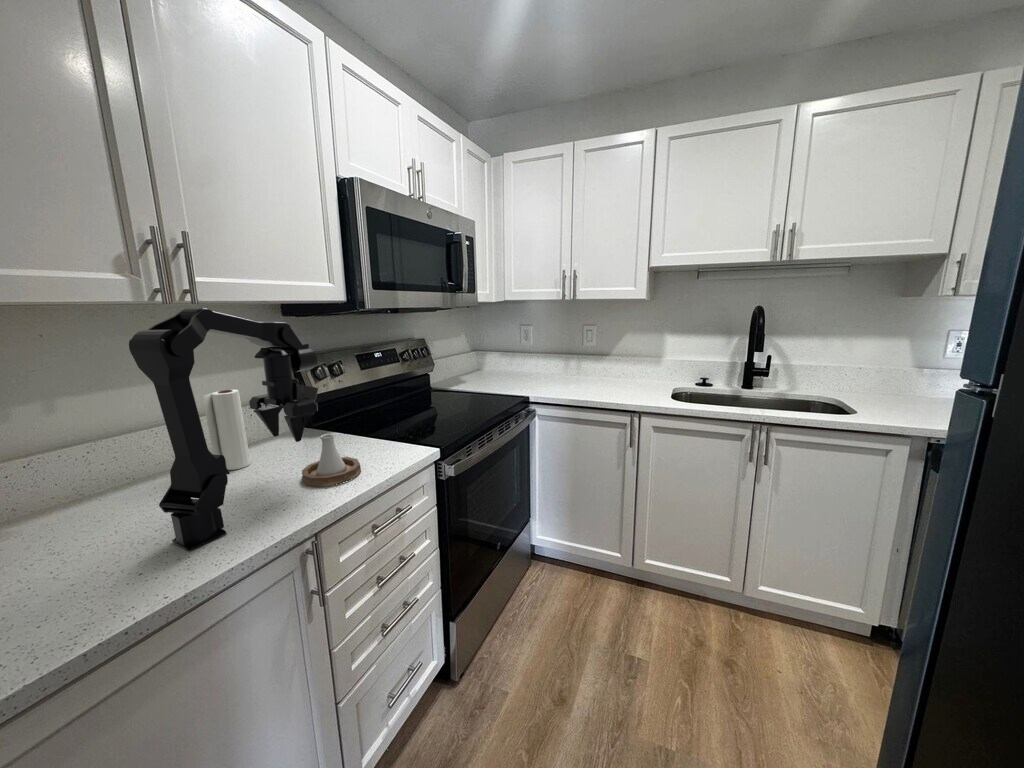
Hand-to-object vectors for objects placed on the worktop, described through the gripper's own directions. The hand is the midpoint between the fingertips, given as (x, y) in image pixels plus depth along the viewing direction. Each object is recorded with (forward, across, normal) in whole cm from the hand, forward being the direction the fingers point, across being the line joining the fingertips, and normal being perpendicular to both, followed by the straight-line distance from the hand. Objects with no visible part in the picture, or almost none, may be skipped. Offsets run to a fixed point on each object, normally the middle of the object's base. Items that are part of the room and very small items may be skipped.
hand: (287, 438), depth 99 cm
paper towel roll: (+12, +25, +1) cm, 28 cm away
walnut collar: (+11, -5, -8) cm, 15 cm away
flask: (+11, -5, -8) cm, 14 cm away
